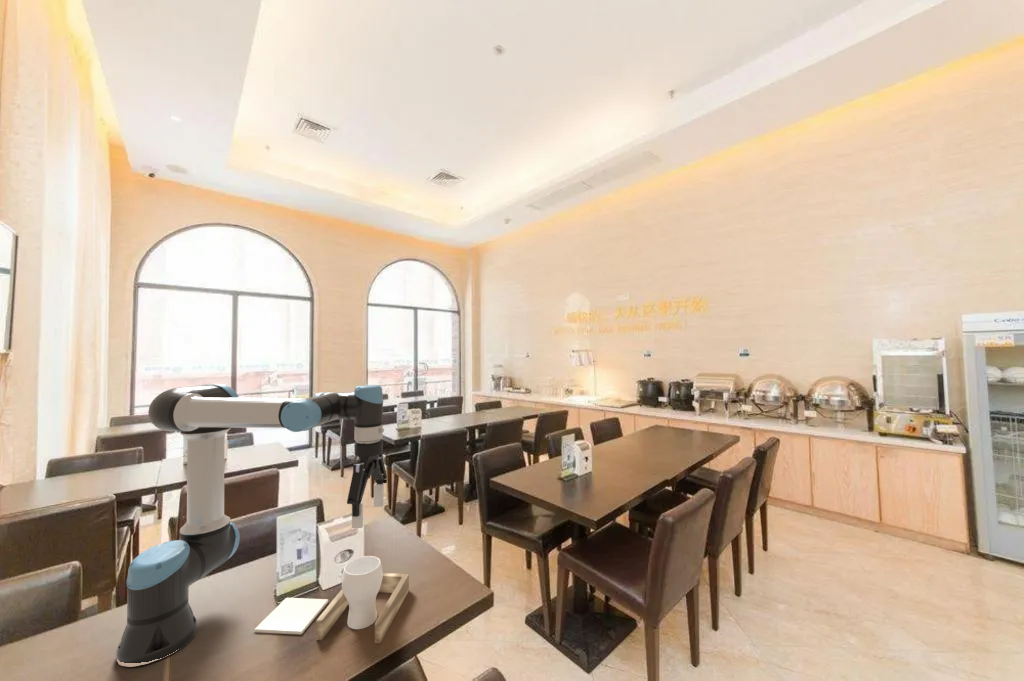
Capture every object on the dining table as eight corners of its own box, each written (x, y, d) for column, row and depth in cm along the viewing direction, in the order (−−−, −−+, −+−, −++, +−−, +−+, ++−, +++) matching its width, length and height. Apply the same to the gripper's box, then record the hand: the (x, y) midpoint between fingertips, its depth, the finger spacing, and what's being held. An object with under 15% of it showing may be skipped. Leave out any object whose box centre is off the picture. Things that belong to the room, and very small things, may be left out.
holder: (316, 639, 100) (316, 620, 100) (355, 588, 122) (355, 572, 122) (380, 643, 99) (380, 623, 99) (408, 590, 120) (408, 574, 120)
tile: (254, 632, 103) (254, 629, 103) (286, 600, 116) (286, 597, 116) (301, 634, 102) (301, 631, 102) (328, 602, 115) (328, 599, 115)
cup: (369, 636, 101) (369, 578, 102) (333, 630, 103) (333, 573, 104) (389, 609, 112) (389, 556, 112) (356, 604, 114) (356, 553, 114)
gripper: (361, 452, 97) (361, 538, 96) (397, 430, 122) (397, 499, 121) (332, 452, 97) (332, 537, 97) (374, 430, 122) (374, 498, 122)
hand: (368, 516), depth 109 cm, fingers open, 13 cm apart
